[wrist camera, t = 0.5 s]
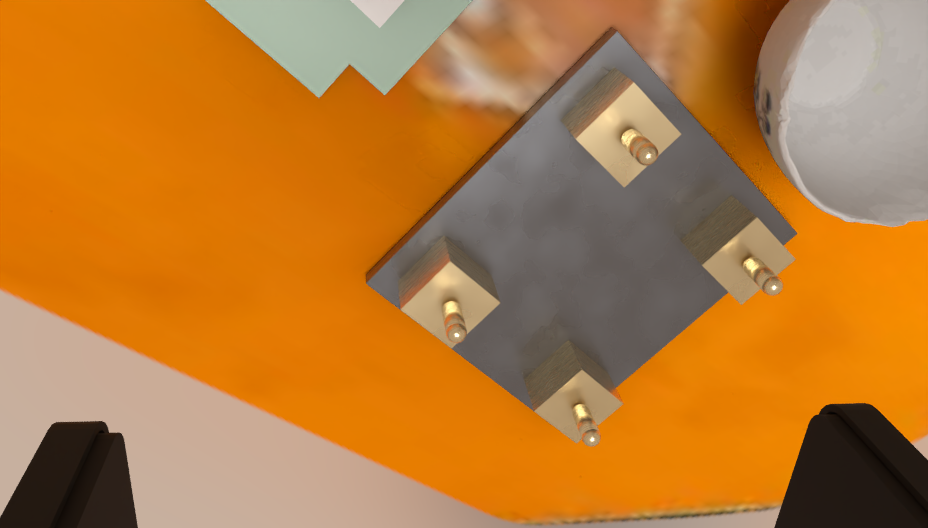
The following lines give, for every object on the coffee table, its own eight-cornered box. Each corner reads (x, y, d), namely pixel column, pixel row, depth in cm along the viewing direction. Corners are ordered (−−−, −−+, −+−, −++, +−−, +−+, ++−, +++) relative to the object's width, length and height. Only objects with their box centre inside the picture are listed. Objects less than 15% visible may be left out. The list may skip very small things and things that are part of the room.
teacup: (977, 66, 41) (1107, 107, 34) (777, 213, 43) (859, 279, 36) (858, -188, 35) (987, -204, 27) (633, 1, 37) (697, 32, 30)
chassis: (611, 27, 38) (661, 58, 31) (788, 226, 44) (859, 284, 38) (365, 274, 42) (367, 344, 36) (558, 422, 48) (588, 503, 42)
